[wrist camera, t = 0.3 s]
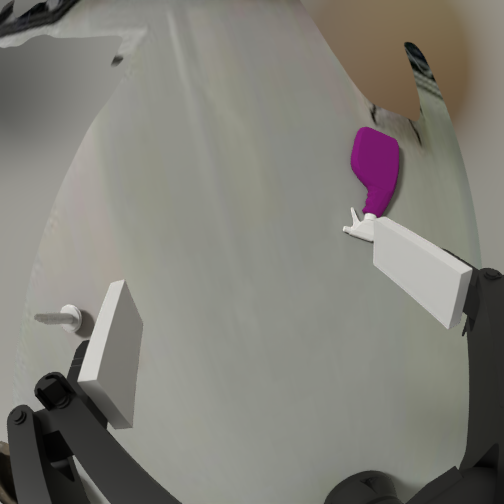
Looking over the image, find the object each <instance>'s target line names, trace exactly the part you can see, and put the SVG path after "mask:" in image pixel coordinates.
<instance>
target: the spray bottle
mask: <svg viewBox="0 0 504 504" xmlns="http://www.w3.org/2000/svg"><path fill="white" fill-rule="evenodd" d="M351 167H352V170H353V172H354V173H355V175H356V176H357V178H358V179H359V180H360V181H361V182H362V183H363V184H364V186H365V187H366V188H367V189H368V194H367V196H368V198H367V199H366V201H365V202H366V206H365V208H364V209H363V210H362V211H363V213H364V214H365V218H364V220H363V221H362V222H360V221H359V220H358V218H357V216H356V213H355V211H354V209H353V207H352V208H351V212H352V217H353V226H352V227H347V226H344V228H343V231H344V232H347V233H349V235H352V236H355V237H358V238H361V239H364V240H367V241H370V242H371V241H374V219H376V218H380V217H381V215H382V214H383V212H384V211H385V209H386V207H387V206H388V204H389V202H390V200H391V198H392V195H393V193H394V190H395V187H396V184H397V178H398V172H399V146H398V142H397V140H396V139H394V138H392V137H390V136H387V135H385V134H383V133H381V132H379V131H376V130H374V129H372V128H369V127H362V128H360V129H359V131H358V132H357V135H356V137H355V141H354V145H353V150H352V154H351Z"/></svg>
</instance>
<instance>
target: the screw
mask: <svg viewBox="0 0 504 504" xmlns="http://www.w3.org/2000/svg"><path fill="white" fill-rule="evenodd" d="M34 319H35V320H38V321H39V322H42V323H45V324H61V326H62V328H63V329H64V330H66V331H67V332H75V331H77V330H78V329H79V328H80V327H81V324H82V315H81V312H80V310H79V309H78V308H77V307H76V306H74V305H66V306H64V307H63V308H62V309H61V311H60V313H55V312H45V313H43V314H36V315H35V317H34Z"/></svg>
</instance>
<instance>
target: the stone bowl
mask: <svg viewBox="0 0 504 504" xmlns="http://www.w3.org/2000/svg"><path fill="white" fill-rule="evenodd" d="M0 502H1V503H2V504H18V500H17V495H16V490H15V485H14V480H13V474H12V467H11V460H10V452H9V444H7V443H5V442H2V441H1V442H0Z"/></svg>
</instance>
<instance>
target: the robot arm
mask: <svg viewBox="0 0 504 504" xmlns="http://www.w3.org/2000/svg"><path fill="white" fill-rule="evenodd" d="M373 264H374V265H375V266H376V267H377V268H379V269H380V270H381V271H382V272H383V273H385V274H386V275H387V276H388V277H389V278H391V279H392V280H393V281H394V282H395V283H397V284H398V285H399V286H400V287H401V288H402V289H404V290H405V291H406V292H407V293H408V294H409V295H410V296H412V297H413V298H414V299H415V300H416V301H417V302H418V303H420V304H421V305H422V306H423V307H424V308H425V309H426V310H427V311H429V312H430V313H431V314H432V315H433V316H434V317H435V318H436V319H437V320H439V321H440V322H441V323H442V324H443V325H444V326H445V327H446V328H447V329H450V328H452V327H454V326H455V325H457V324H459V323H460V320H461V316H462V313H463V312H464V313H465V314H466V315H467V319H466V323H465V326H464V329H463V332H462V336H464V334H465V332H466V331H467V341H468V356H469V420H468V435H467V446H466V452H465V455H464V457H463V460H462V462H461V464H460V467H459V470H458V469H457V468H456V466H454V467H452V468H451V469H450V470H448V471H447V472H445V473H444V474H442V475H441V476H439V477H438V478H436V479H434V480H433V481H431V482H430V483H428V484H427V485H426V486H425V487H423V488H422V489H421V490H420V491H419V492H418V493H417V494H416V495H415V496H414V497H413V498H412V499H410V500H409V501H408V502H407V503H406V504H504V275H502V274H501V273H500V272H499V271H497V270H494V269H491V268H483V269H480V270H478V269H476V268H475V267H473V266H472V265H470V264H469V263H467V262H465V261H464V260H462V259H460V258H459V257H458V256H456V255H454V254H453V253H451V252H449V251H448V250H446V249H442V248H439V247H437V246H436V245H434V244H432V243H431V242H429V241H427V240H425V239H424V238H422V237H420V236H419V235H417V234H415V233H413V232H412V231H410V230H408V229H406V228H405V227H403V226H401V225H399V224H398V223H396V222H394V221H392V220H390V219H388V218H387V217H381V218H376V219H374V257H373ZM142 331H143V322H142V320H141V317H140V315H139V313H138V310H137V308H136V306H135V303H134V301H133V299H132V296H131V294H130V291H129V289H128V286H127V284H126V281H125V279H124V280H120V281H116V282H112V283H111V284H110V287H109V289H108V292H107V294H106V297H105V300H104V302H103V305H102V308H101V310H100V313H99V316H98V319H97V321H96V324H95V327H94V330H93V333H92V336H91V339H90V340H86V341H83V342H82V343H81V344H80V346H79V347H78V348H77V349H76V352H75V355H74V360H73V361H72V364H71V367H70V370H69V373H68V376H67V379H66V378H65V377H64V376H63V375H62V374H61V373H59V372H52V373H48V374H47V375H45V376H43V377H42V378H41V379H40V380H39V381H38V383H37V384H36V386H35V390H34V392H35V396H36V397H37V398H38V400H39V401H40V402H41V403H42V404H43V406H44V407H45V409H42V410H39V411H36V412H34V411H33V410H32V409H31V408H30V407H29V406H27V405H19V406H17V407H16V408H14V409H13V410H12V411H11V412H10V414H9V416H8V419H7V431H8V443H9V452H10V460H11V467H12V474H13V480H14V485H15V490H16V495H17V500H18V504H90V502H89V500H88V498H87V495H86V493H85V490H84V488H83V485H82V483H81V480H80V477H79V475H78V472H77V469H76V466H75V463H74V460H73V457H72V456H73V455H75V456H76V458H77V459H78V461H79V462H80V464H81V465H82V467H83V468H84V470H85V471H86V472H87V474H88V475H89V477H90V478H91V479H92V481H93V482H94V483H95V485H96V486H97V487H98V488H99V490H100V491H101V492H102V494H103V495H104V496H105V497H106V498H107V500H108V501H109V502H110V503H111V504H182V503H181V502H180V501H178V500H177V499H176V498H175V497H174V496H172V495H171V494H170V493H169V492H168V491H167V490H165V489H164V488H163V487H162V486H161V485H160V484H159V483H158V482H157V481H156V480H154V479H153V478H152V477H151V476H150V475H149V474H148V473H147V472H146V471H145V470H144V469H143V468H142V467H141V466H140V465H139V464H138V463H137V462H136V461H135V460H134V459H133V458H132V457H131V456H130V455H129V454H128V453H127V452H126V451H125V449H124V448H123V447H122V446H121V445H120V444H119V443H118V442H117V441H116V440H115V438H114V437H113V436H112V435H111V434H110V433H109V432H108V431H107V423H108V422H109V423H110V424H111V425H112V427H113V428H114V429H124V428H133V415H134V402H135V391H136V380H137V371H138V362H139V353H140V345H141V338H142ZM324 504H404V503H402V502H401V501H400V500H399V499H398V497H397V494H396V491H395V488H394V485H393V483H392V481H391V480H390V479H389V478H388V477H387V476H386V475H385V474H383V473H381V472H378V471H365V472H360V473H357V474H355V475H352V476H350V477H348V478H347V479H345V480H343V481H342V482H341V483H339V484H338V485H337V486H336V487H335V488H334V489H333V490H332V491H331V492H330V493H329V495H328V496H327V498H326V500H325V503H324Z"/></svg>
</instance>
